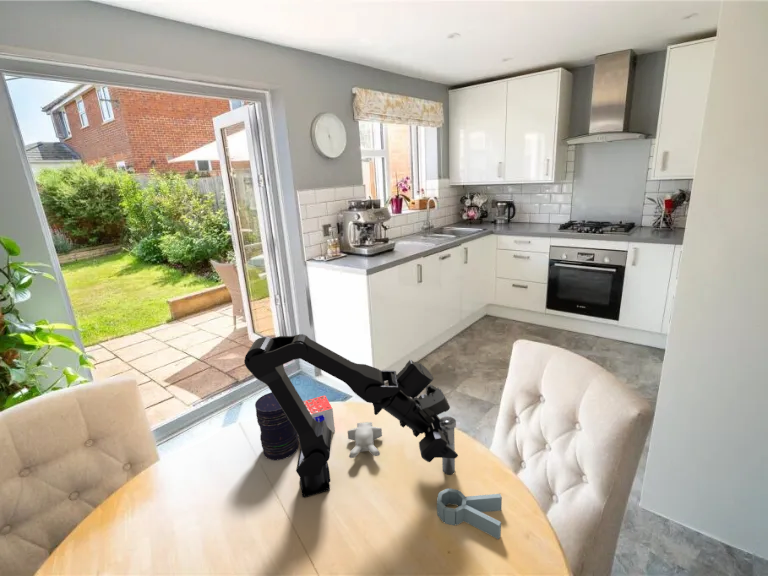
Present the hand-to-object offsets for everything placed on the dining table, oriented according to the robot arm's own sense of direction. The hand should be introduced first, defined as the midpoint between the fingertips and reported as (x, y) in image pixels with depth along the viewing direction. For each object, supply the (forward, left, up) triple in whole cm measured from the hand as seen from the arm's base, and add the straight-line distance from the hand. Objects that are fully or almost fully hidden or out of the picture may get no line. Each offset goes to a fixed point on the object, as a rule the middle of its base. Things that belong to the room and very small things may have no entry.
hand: (451, 443), depth 93 cm
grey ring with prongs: (-3, -13, -8) cm, 16 cm away
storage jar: (-40, +25, -8) cm, 48 cm away
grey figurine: (-18, +17, -8) cm, 26 cm away
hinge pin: (-1, 0, -8) cm, 8 cm away
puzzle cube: (-29, +30, -8) cm, 42 cm away
